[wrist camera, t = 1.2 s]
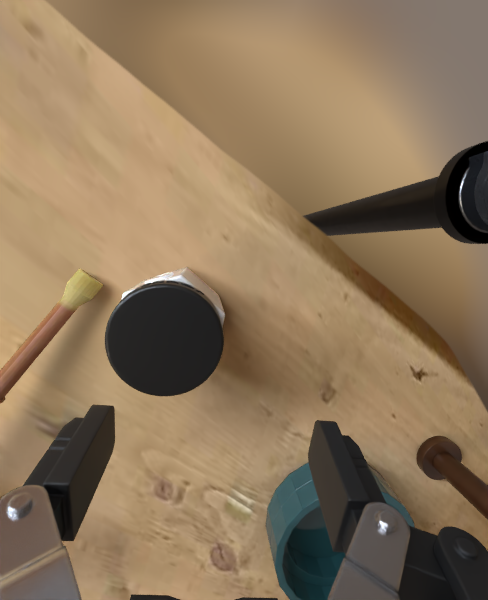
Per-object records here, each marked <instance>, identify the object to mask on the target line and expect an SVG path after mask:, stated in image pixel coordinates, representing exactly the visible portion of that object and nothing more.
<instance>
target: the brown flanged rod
mask: <svg viewBox="0 0 488 600" xmlns="http://www.w3.org/2000/svg"><path fill="white" fill-rule="evenodd" d="M461 460H462V454H461V451H460V449H459V447H458V446H457V445H456V444H455V443H453V442H452V441H451V440H450V439H448V438H446V437H443V436H435V437H432V438H430V439H428V440H426V441H425V442H424V443H423V444H422V445H421V446H420V448H419V450H418V453H417V464H418V466H419V468H420V469H421V470H422V471H423V472H424V473H425V474H426V475H427V476H428V477H430V478H432V479H435V480H442V479H446V480H447V481H448V482H449V483H450V484H451V485H452V486H453V487H455V488H456V489H457V490H458V491H459V492H460V493H461V494H462V495H463V496H464V497H465V498H466V499H467V500H468V501H469V502H470V503H471V504H472V505H473V506H474V507H475V508H476V509H477V510H478V511H479V512H480V513H481V514H482V515H483V516H484V517H485V518H487V519H488V485H487V484H485V483H484V482H483V481H482V480H481V479H479V478H478V477H477V476H476V475H475V474H474V473H472V472H471V471H470V470H469V469H468V468H467V467H465V466H464V465H463V464H462V463H461Z"/></svg>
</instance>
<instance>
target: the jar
mask: <svg viewBox="0 0 488 600" xmlns="http://www.w3.org/2000/svg"><path fill="white" fill-rule="evenodd" d="M224 318H225V313H224V310H223V306H222V303H221V300H220V296H219V295H218V294H217V293H216V292H215V291H213V290H212V289H211V288H210V287H209V286H208V285H207V284H206V283H205V282H203V281H202V280H201V279H200V278H199V277H198V276H197V275H196V274H195V273H193V272H192V271H191V270H190V269H189V268H187V267H185V268H182V269H179V270H176V271H172V272H169V273H165V274H162V275H159V276H156V277H153V278H150V279H146V280H144V281H143V282H141V283H139V284H138V285H136V286H134V287H132V288H131V289H129V290H127V291H126V292H124V293H123V295H122V300H121V301H120V303H119V304H118V305H117V306H116V308H115V309H114V311H113V312H112V314H111V316H110V318H109V320H108V323H107V327H106V332H105V348H106V353H107V356H108V359H109V362H110V364H111V366H112V367H113V369H114V371H115V372H116V373H117V375H118V376H119V377H120V378H121V379H122V380H123V381H124V382H125V383H127V384H128V385H129V386H131V387H133V388H134V389H136V390H138V391H140V392H143V393H146V394H150V395H155V396H174V395H179V394H183V393H186V392H188V391H191V390H193V389H195V388H196V387H198V386H199V385H201V384H202V383H203V382H204V381H206V380H207V379H208V378H209V377H210V375H211V374H212V373H213V372H214V370H215V369H216V367H217V365H218V363H219V361H220V358H221V355H222V351H223V345H224V335H223V328H222V327H223V322H224Z"/></svg>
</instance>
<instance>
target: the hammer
mask: <svg viewBox="0 0 488 600" xmlns="http://www.w3.org/2000/svg"><path fill="white" fill-rule="evenodd" d="M102 286H103V284H102V283H100V282H99V281H98V280H96V279H95V278H94V277H92V276H91V275H89V274H88V273H86V272H85V271H83V270H82V269H80V268H79V270H78V271H77V272H76V273H75V274H74V276H73V277H72V278H71V279H70V280H69V281H68V283H67V286H66V289H65V293H64V296H63V297H62V298H61V300H60V301H59V302H58V303H57V304H56V306H55V307H54V308H53V309H52V310H51V311H50V313H49V314H48V315H47V316H46V317H45V318H44V320H43V321H42V322H41V323H40V324H39V326H38V327H37V328H36V329H35V330H34V331H33V333H32V334H31V335H30V336H29V337H28V338H27V340H26V341H25V342H24V343H23V344H22V346H21V347H20V348H19V349H18V350H17V351H16V353H15V354H14V355H13V356H12V357H11V358H10V360H9V361H8V362H7V363H6V364H5V366H4V367H3V368H2V369H1V370H0V403H2V402H3V401H4V400H5V395H6V394H7V393H8V392H9V391H10V389H11V388H12V387H13V386H14V384H15V383H16V382H17V381H18V380H19V378H20V377H21V376H22V375H23V374H24V372H25V371H26V370H27V369H28V368H29V366H30V365H31V364H32V363H33V361H34V360H35V359H36V358H37V357H38V355H39V354H40V353H41V352H42V351H43V349H44V348H45V347H46V346H47V344H48V343H49V342H50V341H51V340H52V338H53V337H54V336H55V335H56V334H57V332H58V331H59V330H60V329H61V328H62V326H63V325H64V324H65V323H66V321H67V320H68V319H69V318H70V317H71V315H72V314H73V313H74V312H75V311H76V309H77V308H78V307H79V306H80V305H82V304H84V303H86V302H88V301H90V300H92V298H93V297H94V296H95V295H96V294H97V292H98V291H99V290H100V289H101V288H102Z"/></svg>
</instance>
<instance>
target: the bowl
mask: <svg viewBox="0 0 488 600" xmlns="http://www.w3.org/2000/svg"><path fill="white" fill-rule="evenodd" d="M368 468H369V469H370V470H371V473H372V475H373V477H374V479H375V481H376V483H377V485H378V487H379V489H380V491H381V493H382V495H383V497H384V499H385V501H386V503H387V504H388V505H390V506H392V507H393V508H395V509H396V510H397V511H398V512H399V513H400V514H401V515H402V516H403V517H404V518H405V520H406V521H407V523H408V525H410V526H412V527H414V528H415V526H414V522H413V520H412V518H411V516H410V515H409V513H408V511H407V510H406V508H405V506H404V505H403V504H402V502H401V501H400V500H399V498H398V497H397V496H396V495H395V493H394V492H393V491H392V489H391V488H390V487H389V485H388V484H387V483H386V482H385V480H384V479H383V478H382V476H381V475H380V474H379V473H378V472H377V471H376V470H374V469H373V468H372V467H370V466H369V465H368ZM266 530H267V534H268V539H269V543H270V548H271V552H272V557H273V561H274V566H275V570H276V574H277V578H278V582H279V585H280V587H281V588H282V590H283V591H284V592H285V594H286V595H287V596H288V598H289V599H290V600H327V599H328V596H329V593H330V591H331V588H332V586H333V583H334V581H335V578H336V576H337V573H338V571H339V568H340V565H341V563H342V561H343V558H344V556H345V553H344V552H333V549H332V546H331V542H330V539H329V535H328V531H327V528H326V524H325V521H324V517H323V514H322V510H321V506H320V503H319V499H318V496H317V492H316V489H315V485H314V481H313V478H312V474H311V471H310V467H309V462H308V463H306V464H305V465H303V466H302V467H300V468H298V469H297V470H295V471H294V472H292V473H290V474H289V475H288V476H287V478H286V479H285V480H284V481H283V482H282V483H281V484H280V485H279V487H278V488H277V489H276V490H275V493H274V495H273V497H272V499H271V501H270V503H269V506H268V509H267V518H266Z"/></svg>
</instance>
